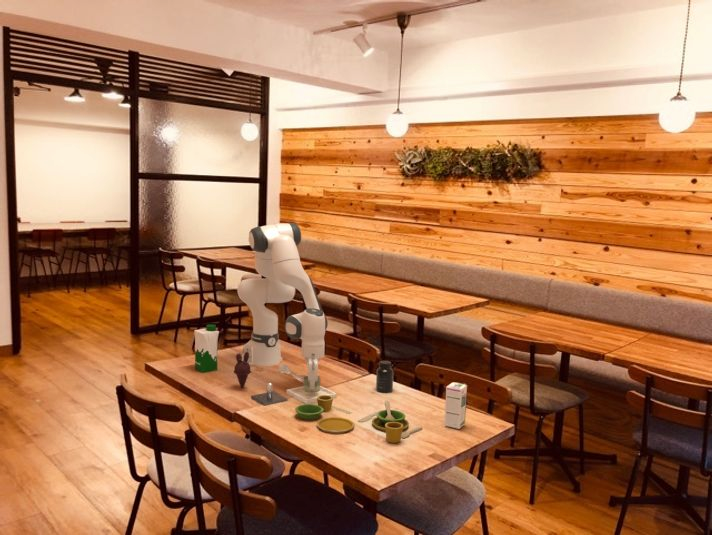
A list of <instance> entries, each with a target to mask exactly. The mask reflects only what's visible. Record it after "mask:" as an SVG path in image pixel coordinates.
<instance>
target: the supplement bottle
mask: <svg viewBox="0 0 712 535" xmlns="http://www.w3.org/2000/svg"><path fill="white" fill-rule="evenodd" d="M378 365H379V367H378V368H377V369H376V378H375V381H376V382H375V383H376V384H375V389H376V391H377V392H379V393H382V394H390V393H392V392H393V390H394V389H393V388H394V369H393V368H392V362H391V361H389V360H380V361H379V364H378Z"/></svg>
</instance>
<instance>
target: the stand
mask: <svg viewBox="0 0 712 535" xmlns="http://www.w3.org/2000/svg"><path fill="white" fill-rule="evenodd" d="M250 396H251V397H250V398H251V399H252V400H254V402H256V403H258V404H260V405H262V406H264V407H266V406H271V405H274V404H279V403H284V402H288V398H287V397H286V396H284V395H282V394H280V393H278V392H276V391H274V390H273V382H267V383H266V392H263V393H258V394H253V395H250Z"/></svg>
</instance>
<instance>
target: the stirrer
mask: <svg viewBox="0 0 712 535" xmlns="http://www.w3.org/2000/svg"><path fill="white" fill-rule="evenodd" d="M278 372H279V373H281V374H287V375H288V376H289V375H292V377H294V379H295V380H298V381H299V382H302V383H303V384H304V377H305V376H308V374H299V373H298V374H296V373H293V372H292V371H291V369H290V366H288V365H287V364H281V365H279V367H278Z"/></svg>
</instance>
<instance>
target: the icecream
mask: <svg viewBox="0 0 712 535" xmlns="http://www.w3.org/2000/svg"><path fill="white" fill-rule="evenodd" d="M241 354H242V353H239V352H238V353H237V354H236V355H235V359H236V362H237V363H235V364H234V365H235V366H234V368H233V370H234V371H233V373H234V374H235V375H236V377H237V381H238V383H239V387H240V389H244V387H245V385H246V382H247V379H248V376H249V375H250V374H251V373H252V371H251V365H249V363H248V362H247V361H248V358H249V353H248V352H245V354H244V361H242V356H241Z"/></svg>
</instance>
